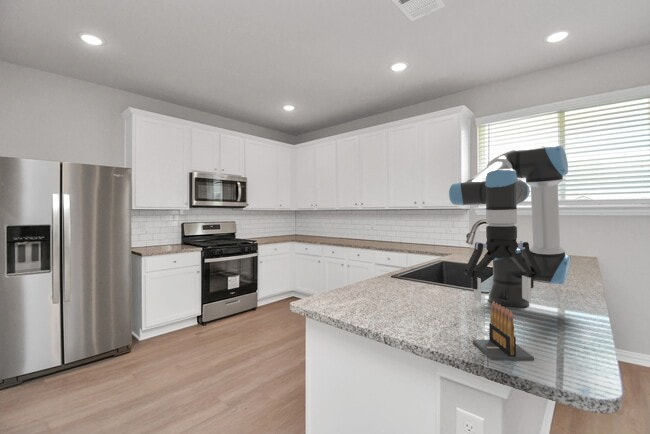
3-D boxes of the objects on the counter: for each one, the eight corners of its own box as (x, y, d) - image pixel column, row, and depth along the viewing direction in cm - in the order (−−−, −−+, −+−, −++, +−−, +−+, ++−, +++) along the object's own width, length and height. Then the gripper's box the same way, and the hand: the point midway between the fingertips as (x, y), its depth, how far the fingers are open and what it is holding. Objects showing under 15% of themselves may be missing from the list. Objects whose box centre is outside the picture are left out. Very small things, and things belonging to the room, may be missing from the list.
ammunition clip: (488, 339, 92) (488, 299, 92) (495, 339, 92) (495, 299, 91) (509, 356, 81) (509, 311, 81) (516, 356, 81) (516, 311, 81)
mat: (510, 342, 92) (510, 339, 92) (534, 360, 81) (534, 356, 81) (473, 342, 92) (473, 339, 92) (491, 359, 81) (491, 356, 81)
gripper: (537, 223, 89) (538, 295, 90) (451, 225, 90) (452, 296, 91) (556, 224, 82) (556, 303, 82) (461, 226, 83) (462, 304, 83)
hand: (501, 300), depth 86 cm, fingers open, 13 cm apart
